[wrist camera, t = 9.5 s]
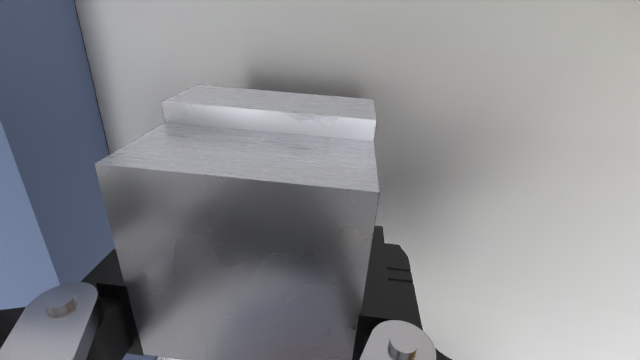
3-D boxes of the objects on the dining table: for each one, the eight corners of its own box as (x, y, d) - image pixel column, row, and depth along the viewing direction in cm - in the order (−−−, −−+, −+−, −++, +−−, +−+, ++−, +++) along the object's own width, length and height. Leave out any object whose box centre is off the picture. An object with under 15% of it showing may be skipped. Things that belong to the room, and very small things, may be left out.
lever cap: (196, 84, 10) (87, 136, 6) (373, 99, 10) (383, 165, 6) (218, 313, 14) (162, 436, 10) (343, 328, 14) (337, 462, 10)
